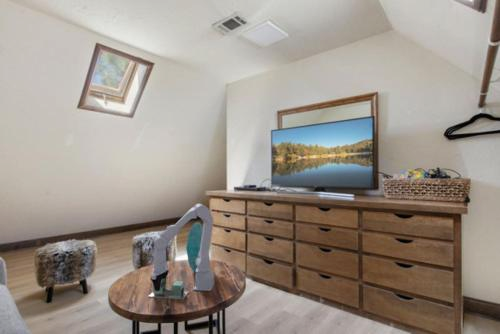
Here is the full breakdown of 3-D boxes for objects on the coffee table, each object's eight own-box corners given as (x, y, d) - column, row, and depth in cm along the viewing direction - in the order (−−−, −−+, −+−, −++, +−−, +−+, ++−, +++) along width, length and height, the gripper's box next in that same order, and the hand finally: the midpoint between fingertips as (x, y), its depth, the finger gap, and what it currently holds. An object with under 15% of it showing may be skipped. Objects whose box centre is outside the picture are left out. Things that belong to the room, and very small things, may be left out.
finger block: (166, 289, 132) (166, 278, 133) (161, 294, 128) (161, 282, 128) (157, 289, 133) (157, 278, 133) (153, 293, 128) (153, 282, 128)
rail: (188, 292, 132) (188, 280, 132) (183, 299, 125) (183, 286, 125) (154, 290, 134) (155, 279, 134) (148, 297, 127) (148, 284, 127)
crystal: (207, 275, 154) (207, 224, 154) (184, 275, 154) (184, 224, 154) (210, 268, 166) (211, 220, 167) (189, 267, 166) (189, 220, 167)
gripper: (159, 255, 138) (158, 281, 138) (145, 265, 124) (144, 294, 124) (171, 256, 137) (171, 282, 137) (159, 266, 123) (159, 295, 123)
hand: (159, 288), depth 130 cm, fingers closed on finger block, 5 cm apart
